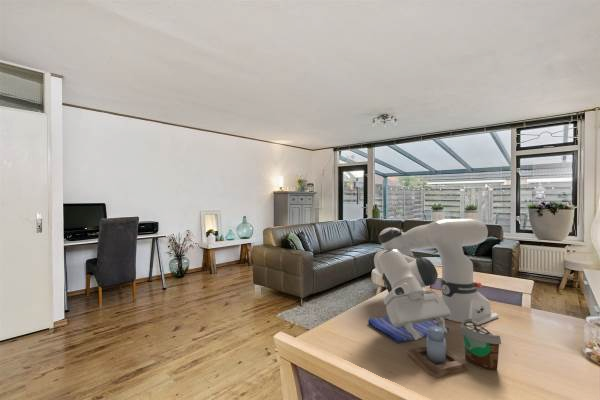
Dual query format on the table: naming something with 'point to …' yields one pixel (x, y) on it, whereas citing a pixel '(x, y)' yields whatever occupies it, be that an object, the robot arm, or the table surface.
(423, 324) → the dish towel
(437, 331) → the blue-grey shaker
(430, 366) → the square wooden frame
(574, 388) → the table surface
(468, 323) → the food container
